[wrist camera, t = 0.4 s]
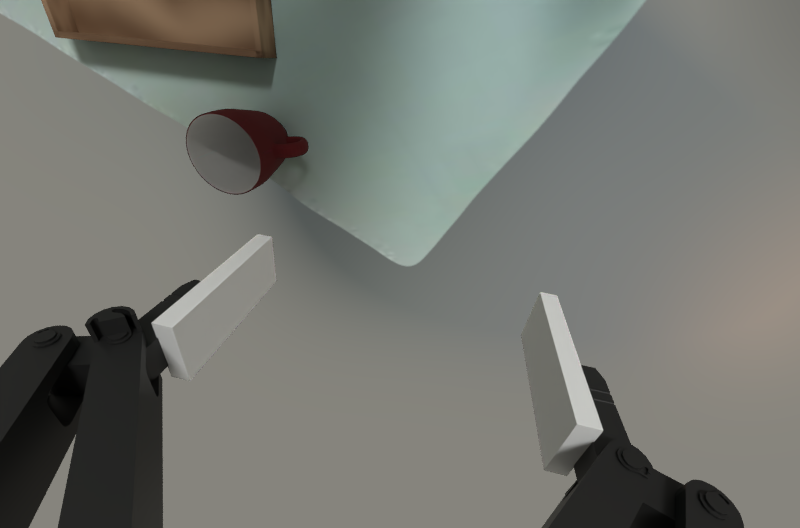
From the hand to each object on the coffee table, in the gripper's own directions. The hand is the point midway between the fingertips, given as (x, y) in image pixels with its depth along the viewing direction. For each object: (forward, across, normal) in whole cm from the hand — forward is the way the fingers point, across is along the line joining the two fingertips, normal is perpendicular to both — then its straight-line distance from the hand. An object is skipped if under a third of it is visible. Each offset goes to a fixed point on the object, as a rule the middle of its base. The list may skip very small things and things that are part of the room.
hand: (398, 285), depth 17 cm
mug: (+27, -20, -1) cm, 34 cm away
